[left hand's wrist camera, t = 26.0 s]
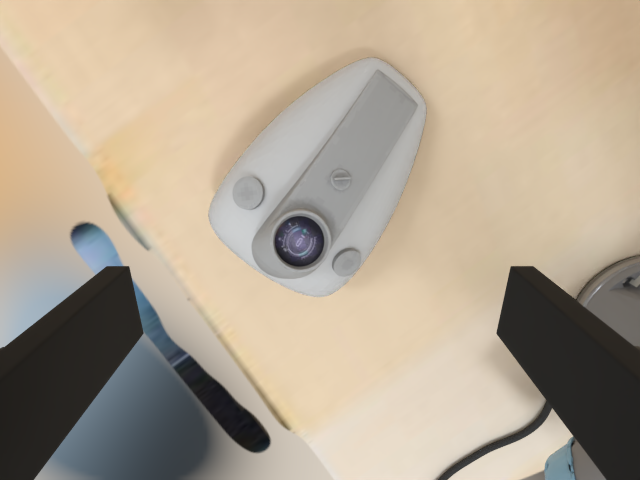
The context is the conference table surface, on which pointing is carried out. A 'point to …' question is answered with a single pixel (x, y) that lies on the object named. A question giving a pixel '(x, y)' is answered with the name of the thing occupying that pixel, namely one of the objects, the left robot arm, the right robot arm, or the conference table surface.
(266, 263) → the projector
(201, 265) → the conference table surface
